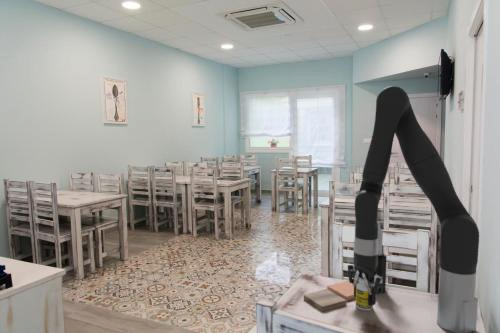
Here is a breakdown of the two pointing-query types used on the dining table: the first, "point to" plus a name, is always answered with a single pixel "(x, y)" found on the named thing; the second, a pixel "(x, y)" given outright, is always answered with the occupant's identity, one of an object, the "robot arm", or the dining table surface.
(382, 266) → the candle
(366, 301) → the supplement bottle
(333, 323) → the dining table surface
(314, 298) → the walnut mat
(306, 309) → the dining table surface
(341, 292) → the terracotta tile
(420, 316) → the dining table surface
